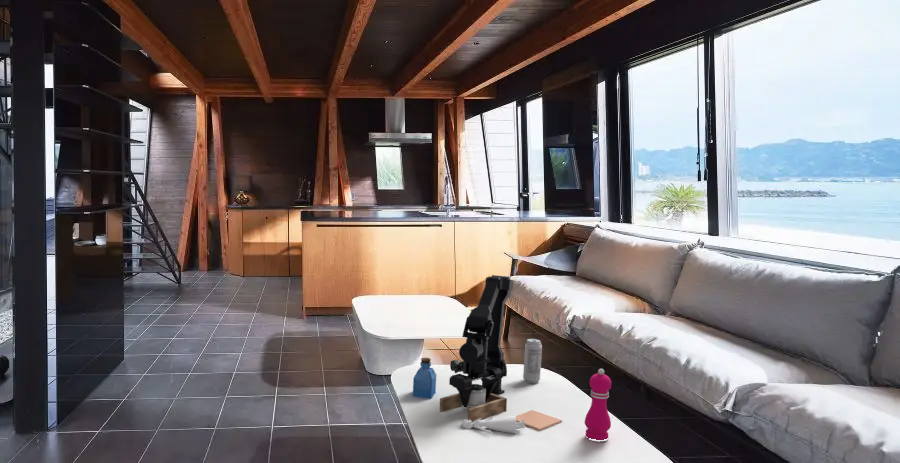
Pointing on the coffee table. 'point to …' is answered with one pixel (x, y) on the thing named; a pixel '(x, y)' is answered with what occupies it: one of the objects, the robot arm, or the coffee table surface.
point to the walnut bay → (483, 411)
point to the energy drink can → (532, 361)
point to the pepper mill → (598, 407)
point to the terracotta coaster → (537, 420)
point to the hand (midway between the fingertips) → (475, 404)
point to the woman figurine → (495, 424)
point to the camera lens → (476, 396)
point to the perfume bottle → (424, 380)
